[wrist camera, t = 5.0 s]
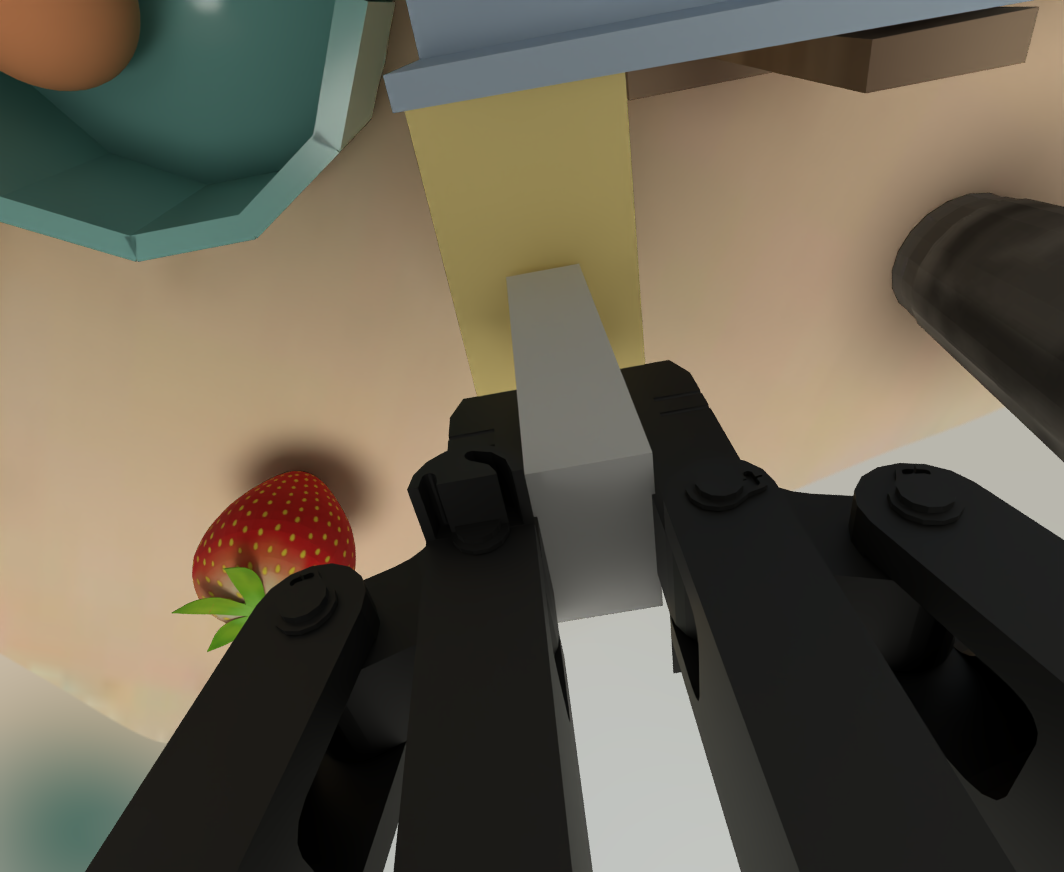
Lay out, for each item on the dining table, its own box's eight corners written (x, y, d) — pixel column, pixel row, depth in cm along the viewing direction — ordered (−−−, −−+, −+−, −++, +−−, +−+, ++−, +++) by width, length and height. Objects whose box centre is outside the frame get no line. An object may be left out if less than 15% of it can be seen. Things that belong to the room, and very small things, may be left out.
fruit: (357, 432, 25) (314, 587, 18) (379, 528, 28) (348, 690, 21) (220, 440, 24) (125, 600, 18) (256, 536, 27) (187, 703, 21)
